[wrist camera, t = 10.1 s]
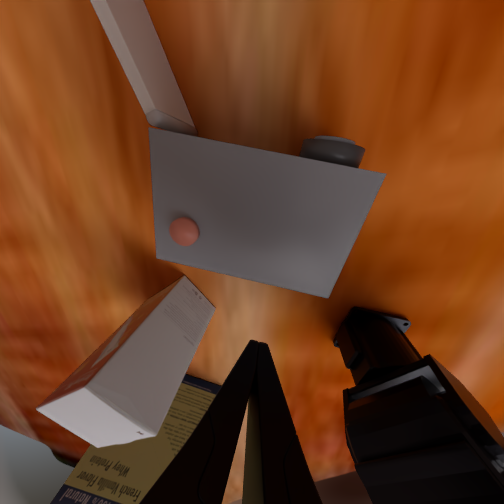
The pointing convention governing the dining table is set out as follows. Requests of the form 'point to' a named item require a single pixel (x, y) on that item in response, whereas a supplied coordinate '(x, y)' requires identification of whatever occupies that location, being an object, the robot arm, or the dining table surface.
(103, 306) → the dining table surface
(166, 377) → the small box
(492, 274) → the dining table surface
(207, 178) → the camera block
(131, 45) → the side door
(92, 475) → the protein box
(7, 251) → the dining table surface
